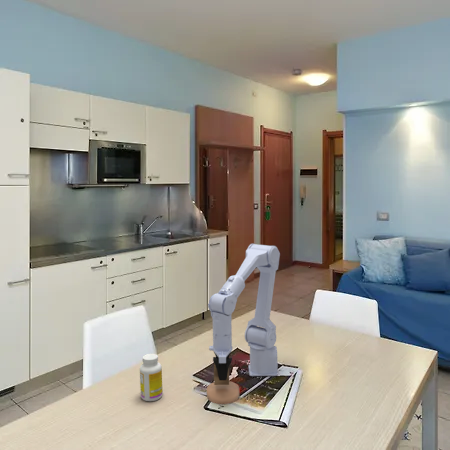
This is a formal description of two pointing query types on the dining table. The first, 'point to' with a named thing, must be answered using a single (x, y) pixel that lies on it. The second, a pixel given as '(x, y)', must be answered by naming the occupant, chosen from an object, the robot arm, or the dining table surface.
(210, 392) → the tan round disc
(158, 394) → the supplement bottle
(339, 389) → the dining table surface
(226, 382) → the walnut block
